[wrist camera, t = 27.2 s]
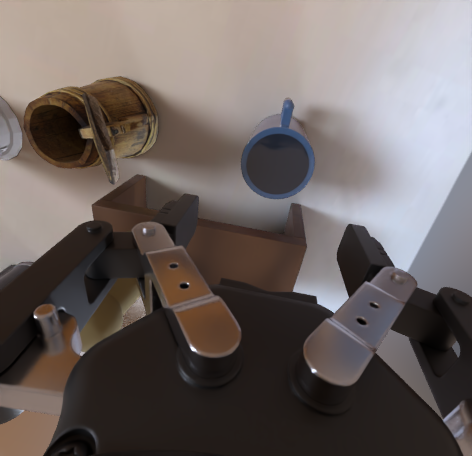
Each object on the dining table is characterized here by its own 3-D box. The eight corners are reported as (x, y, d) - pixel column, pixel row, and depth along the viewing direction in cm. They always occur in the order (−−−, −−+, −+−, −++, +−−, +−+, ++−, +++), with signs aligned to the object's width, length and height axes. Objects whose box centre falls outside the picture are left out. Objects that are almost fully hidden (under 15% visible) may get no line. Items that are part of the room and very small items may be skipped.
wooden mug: (200, 153, 33) (129, 220, 18) (101, 157, 35) (-40, 219, 20) (189, 70, 29) (83, 62, 13) (77, 80, 31) (-126, 82, 16)
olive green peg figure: (128, 219, 27) (47, 295, 18) (177, 253, 29) (125, 340, 19) (106, 255, 30) (25, 336, 21) (151, 284, 31) (95, 374, 22)
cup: (246, 165, 33) (236, 192, 25) (258, 91, 29) (250, 96, 21) (298, 174, 33) (303, 205, 25) (317, 101, 29) (331, 109, 21)
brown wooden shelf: (140, 236, 41) (96, 286, 31) (137, 174, 36) (83, 209, 26) (283, 265, 40) (283, 326, 30) (300, 204, 35) (308, 253, 25)
